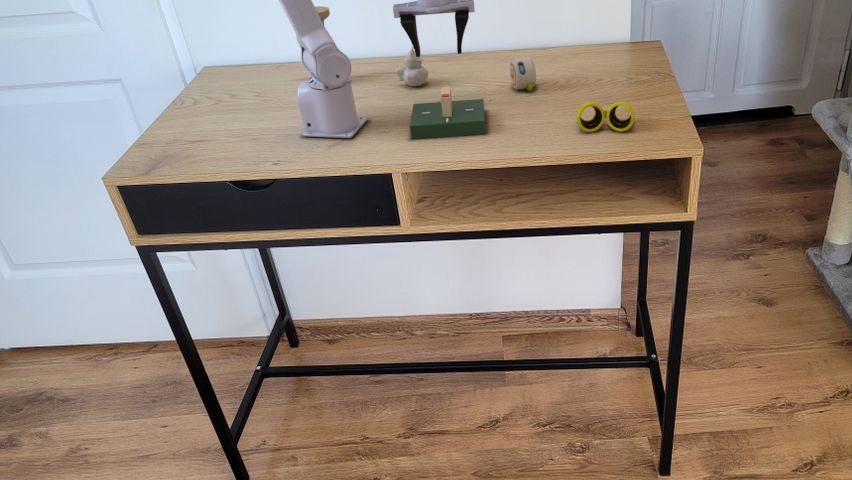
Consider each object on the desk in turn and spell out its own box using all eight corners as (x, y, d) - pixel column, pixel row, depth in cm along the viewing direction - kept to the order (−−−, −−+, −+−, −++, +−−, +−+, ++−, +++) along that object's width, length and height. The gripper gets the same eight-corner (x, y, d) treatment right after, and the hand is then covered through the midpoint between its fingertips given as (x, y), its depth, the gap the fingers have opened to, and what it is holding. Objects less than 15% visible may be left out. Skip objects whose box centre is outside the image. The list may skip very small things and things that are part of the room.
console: (411, 139, 131) (409, 125, 129) (414, 116, 139) (413, 103, 138) (485, 133, 131) (484, 119, 129) (484, 111, 139) (483, 97, 138)
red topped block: (443, 106, 136) (441, 86, 133) (452, 105, 136) (450, 85, 133) (442, 117, 132) (440, 96, 129) (451, 116, 132) (449, 96, 129)
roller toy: (515, 95, 145) (514, 65, 141) (507, 84, 150) (505, 55, 146) (537, 91, 145) (536, 62, 142) (528, 80, 150) (527, 52, 147)
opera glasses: (632, 125, 132) (633, 97, 130) (634, 132, 127) (635, 103, 125) (577, 126, 133) (577, 98, 131) (577, 133, 128) (577, 104, 126)
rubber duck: (428, 89, 150) (423, 49, 145) (396, 91, 150) (390, 51, 146) (430, 79, 155) (425, 40, 150) (398, 81, 155) (392, 43, 150)
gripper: (387, -15, 128) (398, 63, 135) (471, -21, 127) (478, 57, 135) (390, -25, 133) (401, 51, 141) (471, -31, 133) (477, 45, 141)
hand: (439, 53), depth 139 cm, fingers open, 7 cm apart
